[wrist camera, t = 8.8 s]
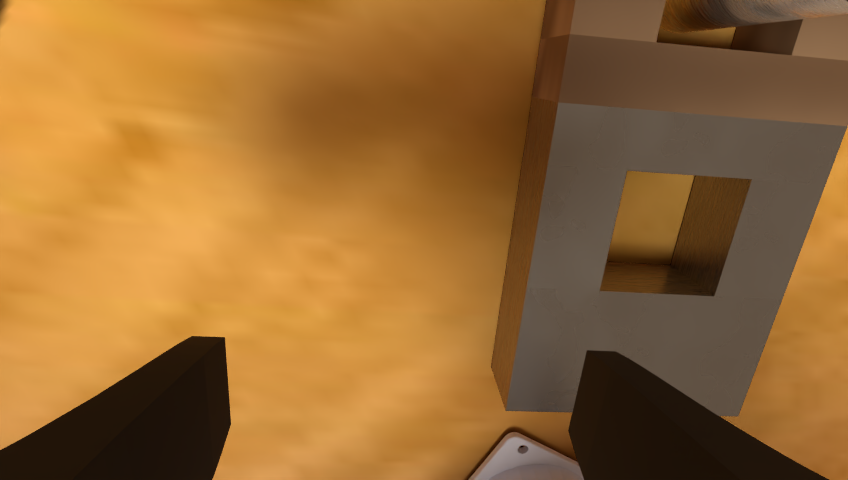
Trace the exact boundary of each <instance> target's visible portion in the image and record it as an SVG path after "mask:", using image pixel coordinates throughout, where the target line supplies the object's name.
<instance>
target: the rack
mask: <svg viewBox="0 0 848 480" xmlns="http://www.w3.org/2000/svg"><path fill="white" fill-rule="evenodd" d="M665 2H666V0H547V1H546V8H545V14H544V21H543V27H542V34H541V41H540V47H539V54H538V60H537V67H536V73H535V80H534V87H533V93H532V97H535V98H540V99H545V100H549V101H554V102H559V103H571V104H583V105H595V106H607V107H619V108H632V109H644V110H656V111H668V112H680V113H692V114H704V115H717V116H729V117H741V118H753V119H765V120H777V121H789V122H802V123H814V124H826V125H838V126H847V125H848V14H843V15H834V16H825V17H817V18H808V19H799V20H791V21H782V22H773V23H765V24H756V25H747V26H739V27H737V28H736V32H735V35H734V39H733V43H732V46H731V49H721V48H710V47H700V46H689V45H679V44H668V43H658V42H656V41H657V37H658V32H659V28H660V24H661V19H662V15H663V10H664V6H665Z"/></svg>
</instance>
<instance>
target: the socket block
mask: <svg viewBox="0 0 848 480" xmlns="http://www.w3.org/2000/svg"><path fill="white" fill-rule="evenodd" d="M846 129H847V126H838V125H826V124H814V123H802V122H789V121H777V120H765V119H753V118H741V117H729V116H717V115H704V114H692V113H680V112H668V111H656V110H644V109H632V108H619V107H607V106H595V105H583V104H571V103H559V102H554V101H549V100H545V99H540V98H535V97H532V102H531V108H530V115H529V121H528V128H527V134H526V141H525V148H524V154H523V161H522V167H521V174H520V180H519V187H518V193H517V200H516V207H515V213H514V220H513V226H512V233H511V239H510V246H509V253H508V259H507V266H506V272H505V279H504V285H503V292H502V298H501V305H500V312H499V318H498V325H497V331H496V338H495V344H494V351H493V358H492V364H491V368H492V371H493V374H494V377H495V380H496V383H497V386H498V389H499V392H500V395H501V398H502V401H503V404H504V407H505V410H506V411H535V412H573V408H574V404H575V399H576V395H577V391H578V386H579V382H580V378H581V373H582V369H583V365H584V360H585V356H586V352H587V350H594V351H616V352H618V353H620V354H622V355H623V356H625V357H627V358H629V359H631V360H632V361H634V362H636V363H637V364H639V365H640V366H642V367H644V368H645V369H647V370H648V371H650V372H651V373H653V374H655V375H656V376H658V377H659V378H661V379H662V380H664V381H665V382H667V383H668V384H670V385H671V386H673V387H675V388H676V389H678V390H679V391H681V392H682V393H684V394H685V395H687V396H688V397H690V398H691V399H693V400H694V401H696V402H698V403H699V404H701V405H702V406H704V407H705V408H707V409H708V410H710V411H712V412H713V413H715V414H716V415H718V416H738V415H739V413H740V410H741V407H742V405H743V402H744V399H745V397H746V394H747V391H748V389H749V386H750V383H751V381H752V378H753V375H754V373H755V370H756V368H757V365H758V362H759V360H760V357H761V354H762V352H763V349H764V346H765V344H766V341H767V338H768V336H769V333H770V330H771V328H772V325H773V322H774V320H775V317H776V314H777V312H778V309H779V306H780V304H781V301H782V298H783V296H784V293H785V291H786V288H787V285H788V283H789V280H790V277H791V275H792V272H793V269H794V267H795V264H796V261H797V259H798V256H799V253H800V251H801V248H802V245H803V243H804V240H805V237H806V235H807V232H808V229H809V227H810V224H811V221H812V219H813V216H814V214H815V211H816V208H817V206H818V203H819V200H820V198H821V195H822V192H823V190H824V187H825V184H826V182H827V179H828V176H829V174H830V171H831V168H832V166H833V163H834V160H835V158H836V155H837V152H838V150H839V147H840V145H841V142H842V139H843V137H844V134H845V131H846ZM627 171H641V172H655V173H669V174H684V175H696V176H695V179H694V183H693V187H692V190H691V194H690V197H689V201H688V204H687V208H686V212H685V215H684V219H683V222H682V226H681V229H680V233H679V237H678V240H677V244H676V247H675V251H674V254H673V258H672V262H671V265H660V264H641V263H622V262H606V261H607V256H608V252H609V247H610V243H611V239H612V234H613V230H614V226H615V221H616V217H617V213H618V208H619V204H620V200H621V195H622V191H623V186H624V182H625V178H626V173H627Z"/></svg>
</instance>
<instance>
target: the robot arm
mask: <svg viewBox="0 0 848 480" xmlns="http://www.w3.org/2000/svg"><path fill="white" fill-rule="evenodd" d="M230 425H231V418H230V404H229V390H228V376H227V362H226V348H225V337H200V336H192V337H190V338H188V339H186V340H184V341H182V342H181V343H179V344H177V345H176V346H174V347H172V348H171V349H169V350H168V351H166V352H164V353H163V354H161V355H160V356H158V357H157V358H155V359H154V360H152V361H150V362H149V363H147V364H146V365H144V366H143V367H141V368H139V369H138V370H136V371H135V372H133V373H132V374H130V375H128V376H127V377H125V378H124V379H122V380H120V381H119V382H117V383H116V384H114V385H112V386H111V387H109V388H108V389H106V390H104V391H103V392H101V393H100V394H98V395H96V396H95V397H93V398H92V399H90V400H88V401H86V402H85V403H83V404H81V405H80V406H78V407H76V408H74V409H73V410H71V411H69V412H67V413H66V414H64V415H62V416H61V417H59V418H57V419H55V420H54V421H52V422H50V423H49V424H47V425H45V426H43V427H42V428H40V429H38V430H36V431H35V432H33V433H31V434H30V435H28V436H26V437H24V438H22V439H21V440H19V441H17V442H15V443H13V444H11V445H9V446H8V447H6V448H4V449H2V450H0V480H212V478H213V476H214V474H215V471H216V468H217V465H218V462H219V459H220V456H221V453H222V450H223V447H224V444H225V441H226V438H227V435H228V431H229V428H230ZM568 431H569V434H570V438H571V441H572V444H573V448H574V451H575V454H576V458H577V460H578V462H577V461H575V460H573V459H571V458H569V457H566V456H564V455H562V454H560V453H558V452H556V451H554V450H552V449H550V448H548V447H546V446H544V445H542V444H540V443H538V442H536V441H534V440H532V439H530V438H528V437H526V436H524V435H522V434H520V433H517V432H511V433H509V434H507V435H506V436H505V437H504V438H503V439H502V440H501V442H500V443H499V444H498V445H497V446H496V447H495V449H494V450H493V451H492V452H491V453H490V455H489V456H488V457H487V458H486V459H485V461H484V462H483V463H482V464H481V465H480V467H479V468H478V469H477V470H476V471H475V473H474V474H473V475H472V476H471V477H470V479H469V480H829V479H827V478H825V477H823V476H821V475H819V474H817V473H815V472H813V471H811V470H810V469H808V468H806V467H804V466H802V465H801V464H799V463H797V462H795V461H793V460H792V459H790V458H788V457H786V456H784V455H783V454H781V453H779V452H778V451H776V450H774V449H772V448H771V447H769V446H767V445H766V444H764V443H762V442H761V441H759V440H757V439H756V438H754V437H752V436H750V435H749V434H747V433H745V432H744V431H742V430H740V429H739V428H737V427H736V426H734V425H732V424H731V423H729V422H728V421H726V420H724V419H723V418H721V417H720V416H718V415H716V414H715V413H713V412H712V411H710V410H708V409H707V408H705V407H704V406H702V405H701V404H699V403H698V402H696V401H694V400H693V399H691V398H690V397H688V396H687V395H685V394H684V393H682V392H681V391H679V390H678V389H676V388H675V387H673V386H671V385H670V384H668V383H667V382H665V381H664V380H662V379H661V378H659V377H658V376H656V375H655V374H653V373H651V372H650V371H648V370H647V369H645V368H644V367H642V366H640V365H639V364H637V363H636V362H634V361H632V360H631V359H629V358H627V357H625V356H623V355H622V354H620V353H618V352H616V351H594V350H587V352H586V356H585V360H584V365H583V369H582V373H581V378H580V382H579V386H578V391H577V395H576V399H575V404H574V408H573V413H572V417H571V421H570V426H569V430H568ZM522 445H525V446H524V447H521V448H519V447H520V446H522Z"/></svg>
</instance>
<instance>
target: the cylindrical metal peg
mask: <svg viewBox="0 0 848 480" xmlns="http://www.w3.org/2000/svg"><path fill="white" fill-rule="evenodd" d="M843 14H848V0H666V2H665V6H664V10H663V15H662V19H661V24H660V27H662V28H663V29H665V30H667V31H670V32H674V33H687V32H695V31H704V30H713V29H721V28H730V27H739V26H747V25H756V24H765V23H773V22H782V21H791V20H799V19H808V18H817V17H825V16H834V15H843Z"/></svg>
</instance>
